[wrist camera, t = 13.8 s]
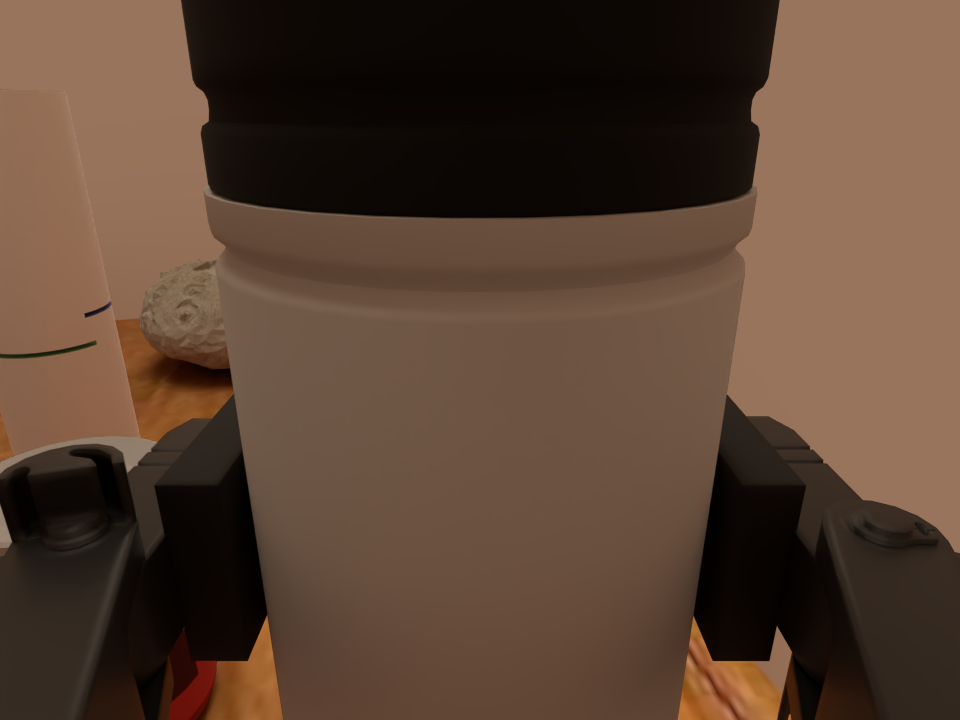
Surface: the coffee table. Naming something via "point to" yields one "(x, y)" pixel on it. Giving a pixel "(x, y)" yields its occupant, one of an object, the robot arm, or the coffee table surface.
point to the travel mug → (480, 336)
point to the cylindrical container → (53, 287)
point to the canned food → (188, 675)
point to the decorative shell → (187, 315)
